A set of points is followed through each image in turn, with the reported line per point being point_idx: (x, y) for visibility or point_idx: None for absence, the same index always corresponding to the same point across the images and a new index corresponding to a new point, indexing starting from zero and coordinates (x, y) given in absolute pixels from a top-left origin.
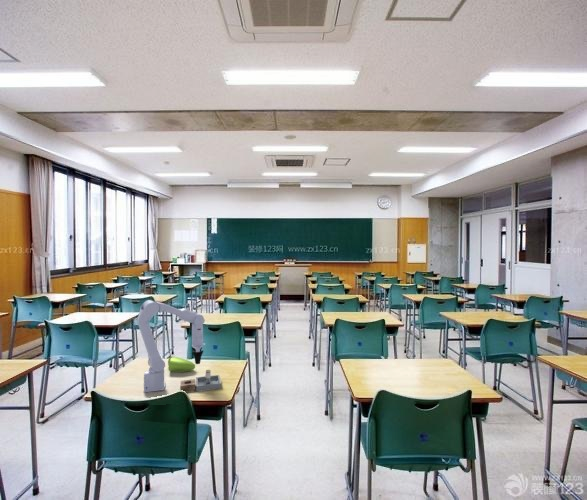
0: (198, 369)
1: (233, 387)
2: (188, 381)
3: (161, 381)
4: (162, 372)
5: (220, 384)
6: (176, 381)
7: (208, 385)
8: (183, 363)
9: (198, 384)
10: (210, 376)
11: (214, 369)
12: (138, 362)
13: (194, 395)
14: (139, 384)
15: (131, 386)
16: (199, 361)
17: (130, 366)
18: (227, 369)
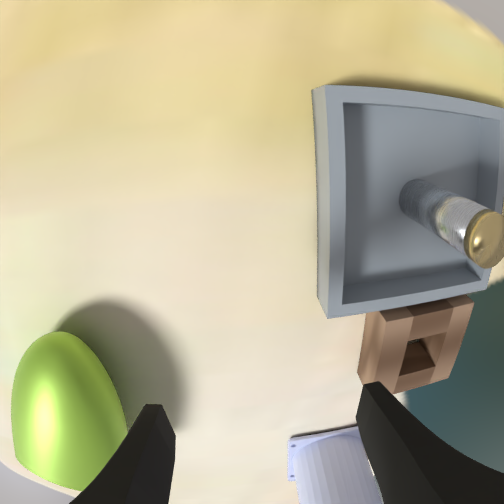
0: (36, 290)
1: (479, 28)
2: (403, 354)
3: (365, 465)
4: (373, 502)
5: (501, 115)
6: (260, 404)
7: (499, 206)
8: (100, 436)
9: (393, 273)
10: (461, 196)
11: (34, 155)
12: (32, 477)
13: (499, 277)
14: (255, 490)
15: (268, 498)
16: (397, 408)
17: (71, 495)
18: (57, 32)
